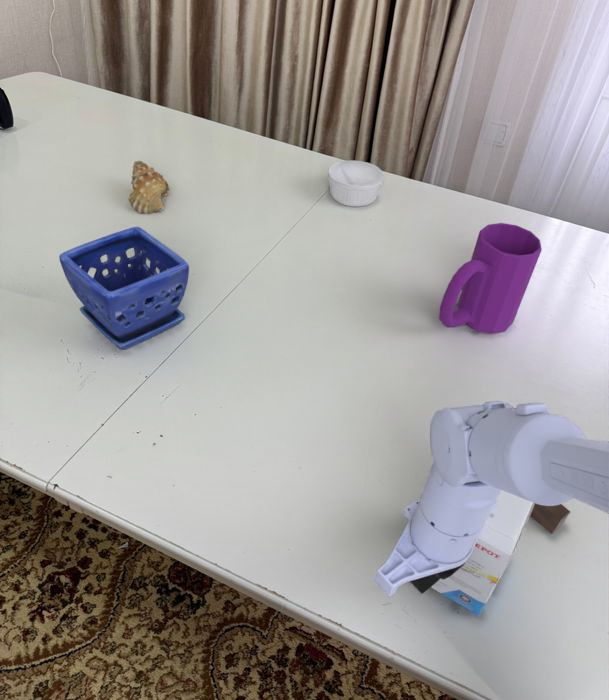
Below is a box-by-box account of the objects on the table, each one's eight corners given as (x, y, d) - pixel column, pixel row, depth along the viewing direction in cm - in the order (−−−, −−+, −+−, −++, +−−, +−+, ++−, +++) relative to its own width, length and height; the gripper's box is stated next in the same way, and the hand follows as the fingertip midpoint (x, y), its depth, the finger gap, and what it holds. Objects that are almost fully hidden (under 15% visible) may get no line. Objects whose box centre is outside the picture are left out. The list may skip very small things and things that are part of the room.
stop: (561, 525, 73) (570, 511, 71) (551, 534, 72) (560, 520, 70) (482, 458, 80) (489, 443, 78) (472, 465, 79) (478, 450, 77)
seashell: (121, 216, 121) (111, 163, 119) (159, 211, 126) (150, 160, 124) (142, 214, 114) (132, 158, 112) (181, 209, 119) (172, 155, 117)
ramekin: (314, 194, 127) (316, 170, 123) (349, 177, 133) (352, 154, 130) (357, 216, 122) (360, 192, 118) (390, 197, 128) (395, 174, 125)
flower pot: (146, 285, 101) (137, 221, 93) (195, 326, 94) (191, 261, 86) (70, 319, 94) (54, 252, 85) (119, 366, 87) (106, 299, 79)
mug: (523, 324, 100) (555, 245, 90) (455, 357, 93) (481, 276, 83) (482, 293, 106) (508, 216, 96) (414, 322, 99) (434, 242, 89)
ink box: (505, 558, 69) (541, 495, 62) (478, 618, 64) (514, 557, 56) (436, 518, 72) (462, 454, 65) (404, 573, 67) (428, 508, 59)
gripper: (471, 439, 60) (439, 516, 69) (360, 517, 52) (341, 591, 62) (531, 490, 56) (489, 564, 65) (420, 582, 49) (390, 650, 58)
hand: (420, 581), depth 63 cm, fingers closed
